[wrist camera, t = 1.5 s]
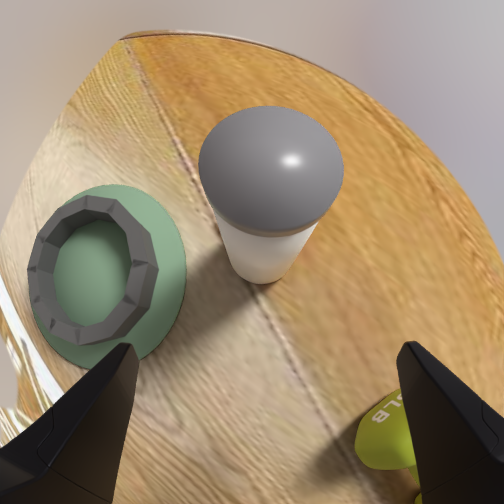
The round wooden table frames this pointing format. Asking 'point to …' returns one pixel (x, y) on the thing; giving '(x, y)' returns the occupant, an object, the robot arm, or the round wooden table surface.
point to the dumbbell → (387, 438)
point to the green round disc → (107, 274)
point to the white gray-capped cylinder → (268, 186)
